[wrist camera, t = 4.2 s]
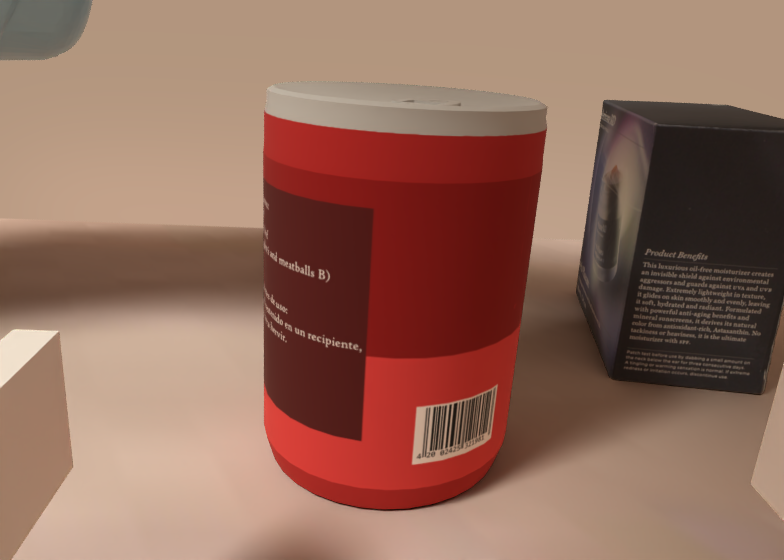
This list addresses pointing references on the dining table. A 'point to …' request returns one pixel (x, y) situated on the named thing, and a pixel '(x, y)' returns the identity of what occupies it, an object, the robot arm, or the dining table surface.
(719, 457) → the dining table surface
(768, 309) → the small box
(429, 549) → the dining table surface
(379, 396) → the canned food
